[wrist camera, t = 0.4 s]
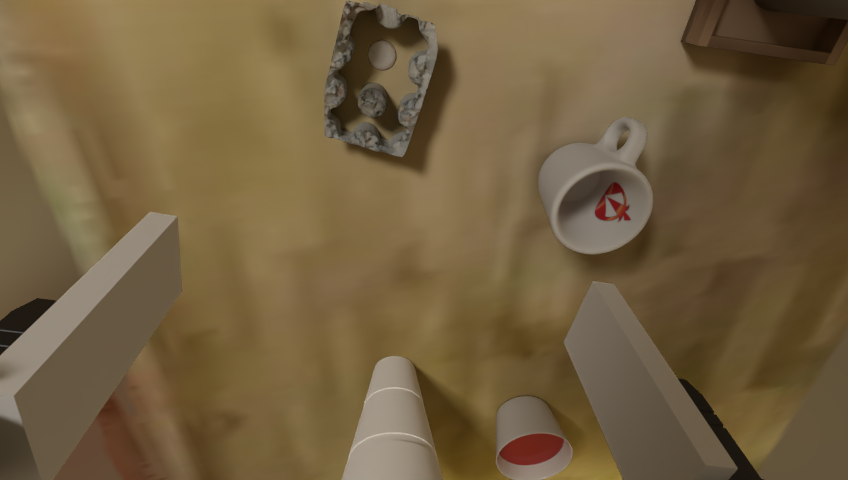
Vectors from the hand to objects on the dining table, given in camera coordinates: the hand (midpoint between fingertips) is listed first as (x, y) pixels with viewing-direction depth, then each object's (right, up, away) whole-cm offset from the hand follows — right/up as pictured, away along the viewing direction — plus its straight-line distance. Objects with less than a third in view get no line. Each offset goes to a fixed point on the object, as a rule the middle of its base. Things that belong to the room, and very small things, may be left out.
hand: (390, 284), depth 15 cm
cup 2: (-2, -14, +40) cm, 42 cm away
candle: (+14, -21, +45) cm, 51 cm away
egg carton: (-3, +15, +23) cm, 28 cm away
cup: (+15, +9, +27) cm, 33 cm away
